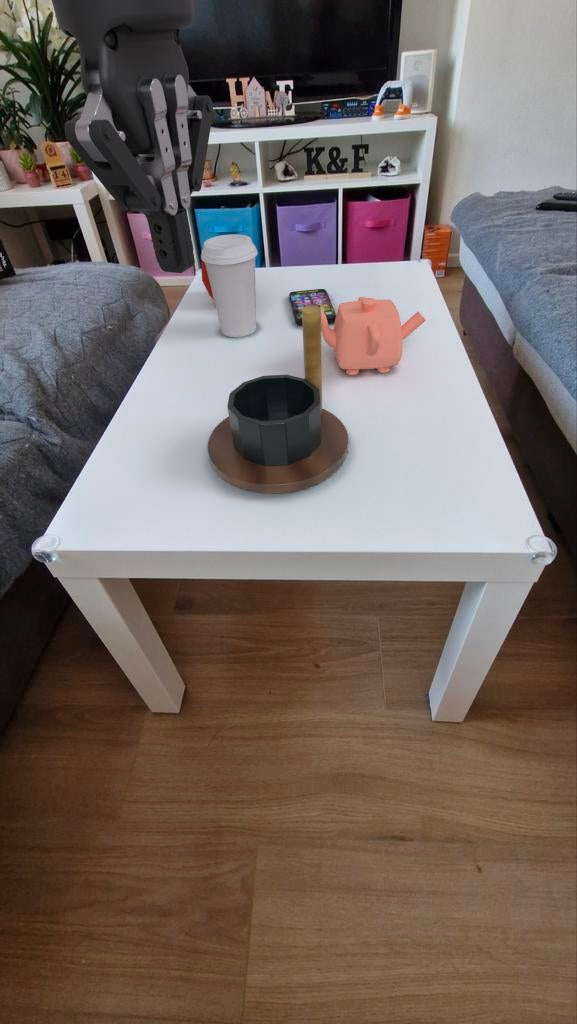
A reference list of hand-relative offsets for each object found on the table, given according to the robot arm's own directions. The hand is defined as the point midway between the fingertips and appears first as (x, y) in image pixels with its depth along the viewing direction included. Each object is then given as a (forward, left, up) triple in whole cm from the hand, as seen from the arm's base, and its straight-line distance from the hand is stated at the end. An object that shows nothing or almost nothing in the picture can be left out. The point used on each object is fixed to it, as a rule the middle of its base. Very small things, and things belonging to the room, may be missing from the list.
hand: (178, 269), depth 37 cm
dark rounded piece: (0, +14, -27) cm, 30 cm away
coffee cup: (-22, +46, -27) cm, 58 cm away
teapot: (+4, +40, -27) cm, 49 cm away
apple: (-30, +58, -27) cm, 71 cm away
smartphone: (-12, +58, -27) cm, 65 cm away
